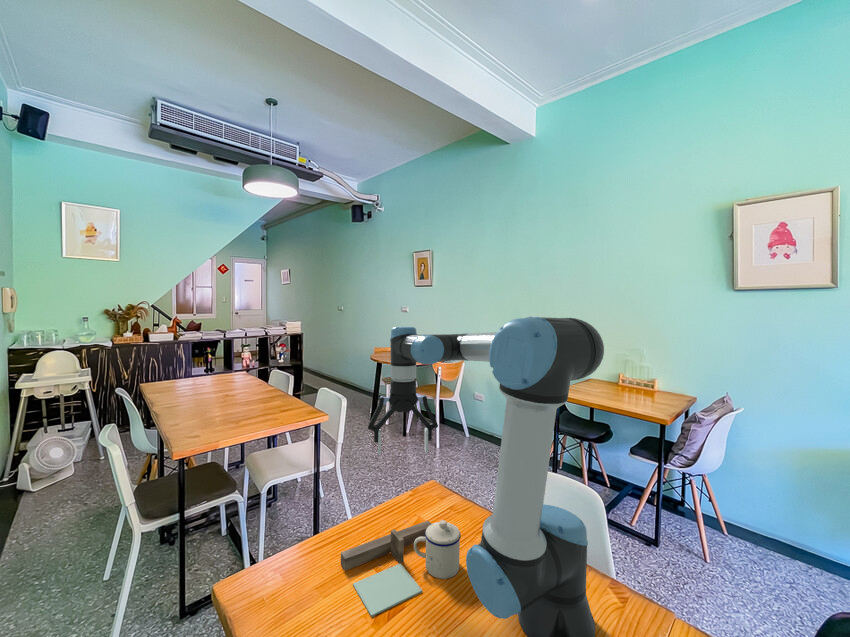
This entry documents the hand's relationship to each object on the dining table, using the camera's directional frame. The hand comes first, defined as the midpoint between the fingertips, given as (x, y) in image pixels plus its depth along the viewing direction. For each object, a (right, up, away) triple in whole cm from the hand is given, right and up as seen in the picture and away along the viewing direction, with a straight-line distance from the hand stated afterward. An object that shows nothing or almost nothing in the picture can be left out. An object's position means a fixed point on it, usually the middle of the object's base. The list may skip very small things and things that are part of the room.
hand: (403, 452), depth 103 cm
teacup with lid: (+9, -25, -12) cm, 29 cm away
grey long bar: (-2, -24, -8) cm, 26 cm away
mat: (-2, -25, -20) cm, 32 cm away
